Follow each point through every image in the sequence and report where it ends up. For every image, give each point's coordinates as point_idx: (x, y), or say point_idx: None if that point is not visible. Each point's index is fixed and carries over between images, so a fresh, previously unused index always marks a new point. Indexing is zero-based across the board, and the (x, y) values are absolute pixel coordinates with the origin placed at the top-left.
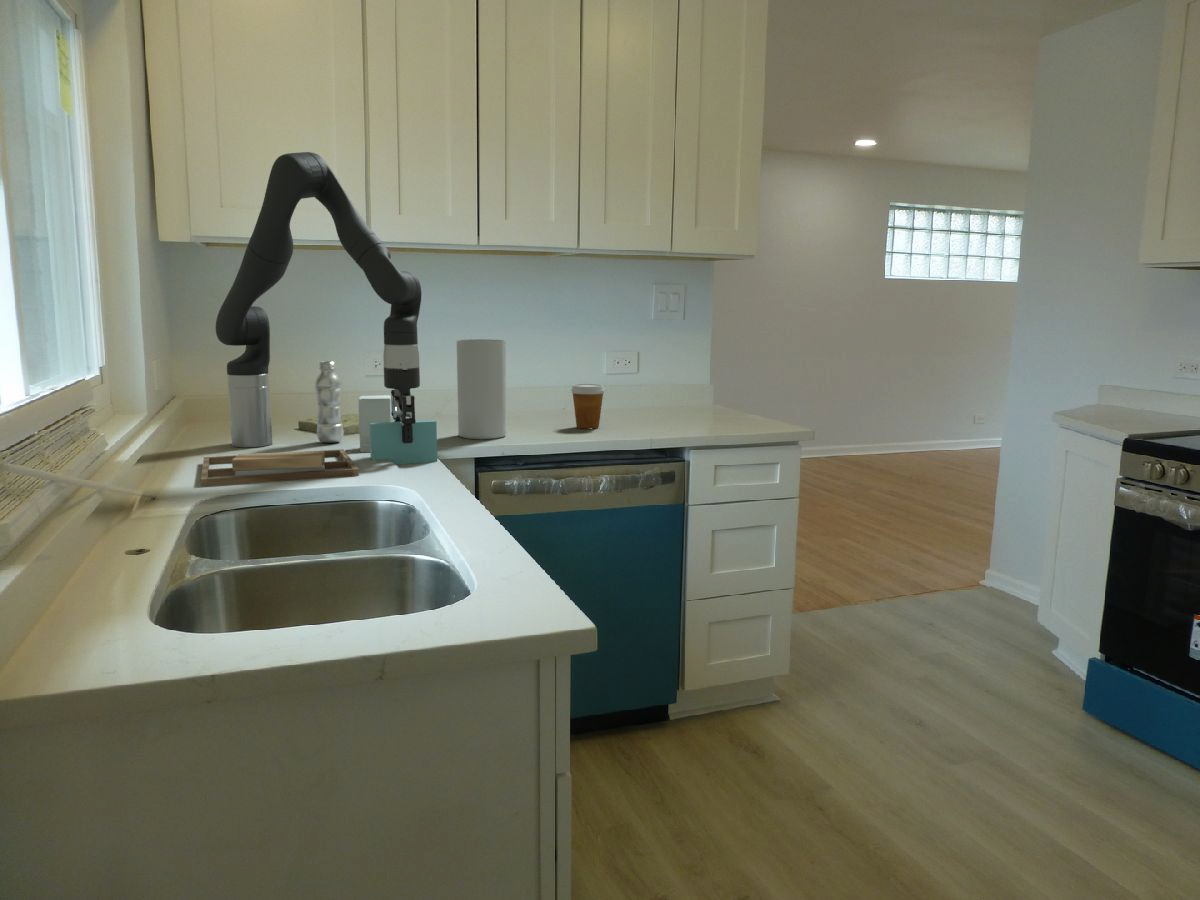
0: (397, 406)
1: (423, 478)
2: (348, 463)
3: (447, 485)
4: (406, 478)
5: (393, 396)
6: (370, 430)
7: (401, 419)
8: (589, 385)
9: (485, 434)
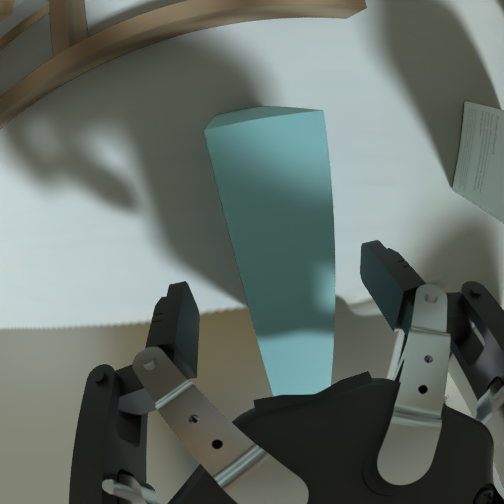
0: (193, 455)
1: (37, 285)
2: (32, 73)
3: (8, 319)
4: (27, 250)
5: (397, 486)
6: (252, 115)
7: (147, 380)
8: None
9: (454, 359)
